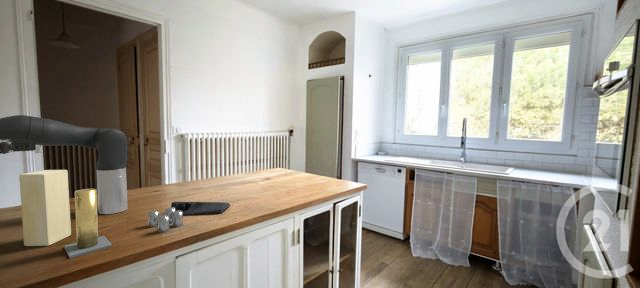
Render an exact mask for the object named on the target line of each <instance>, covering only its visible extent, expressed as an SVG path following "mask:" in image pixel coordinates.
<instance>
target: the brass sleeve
mask: <svg viewBox="0 0 640 288" xmlns="http://www.w3.org/2000/svg"><path fill="white" fill-rule="evenodd" d="M74 205H75V206H74V207H75V208H74V209H75V228H76V229H75V231H76V235H75V236H76V243H77V248H78V249H85V248H90V247H93V246H95V245H97V244H98V237H99V225H98V223H99V222H98V189H97V188H83V189H78V190H75V191H74Z"/></svg>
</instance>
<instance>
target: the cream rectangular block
mask: <svg viewBox="0 0 640 288" xmlns="http://www.w3.org/2000/svg"><path fill="white" fill-rule="evenodd" d="M18 178H19V179H18V180H19V192H20V203H21V204H20V205H21V206H20V207H21V216H22V220H21V221H22V233H23V245H24V247H41V246H42V247H43V246H45V247H46V246H50V245H53V244H55V243H57V242H59V241H61V240H63V239H65V238H67V237H69V236H71V235H72V227H71V226H72V224H71V223H72V222H71V210H70V208H71V207H70V191H69V173H68V170H67V169H44V170H39V171H38V170H37V171H32V172H27V173H21V174H19V176H18Z"/></svg>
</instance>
